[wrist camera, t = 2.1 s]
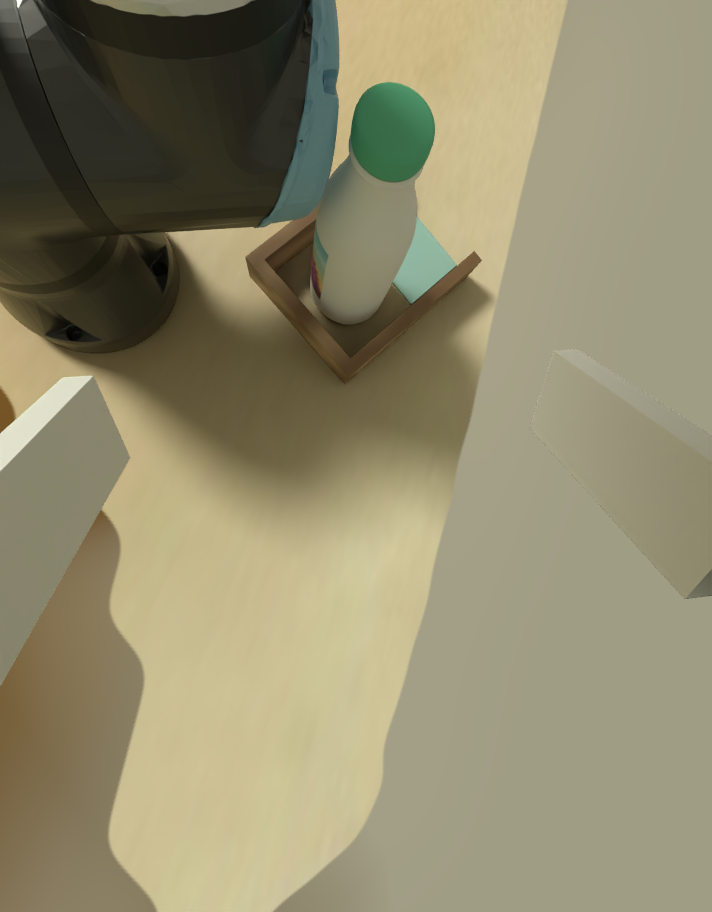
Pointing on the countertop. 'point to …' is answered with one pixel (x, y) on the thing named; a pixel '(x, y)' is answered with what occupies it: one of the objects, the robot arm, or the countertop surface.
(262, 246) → the bay
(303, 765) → the countertop surface
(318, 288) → the milk bottle
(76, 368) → the countertop surface
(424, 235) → the pad
